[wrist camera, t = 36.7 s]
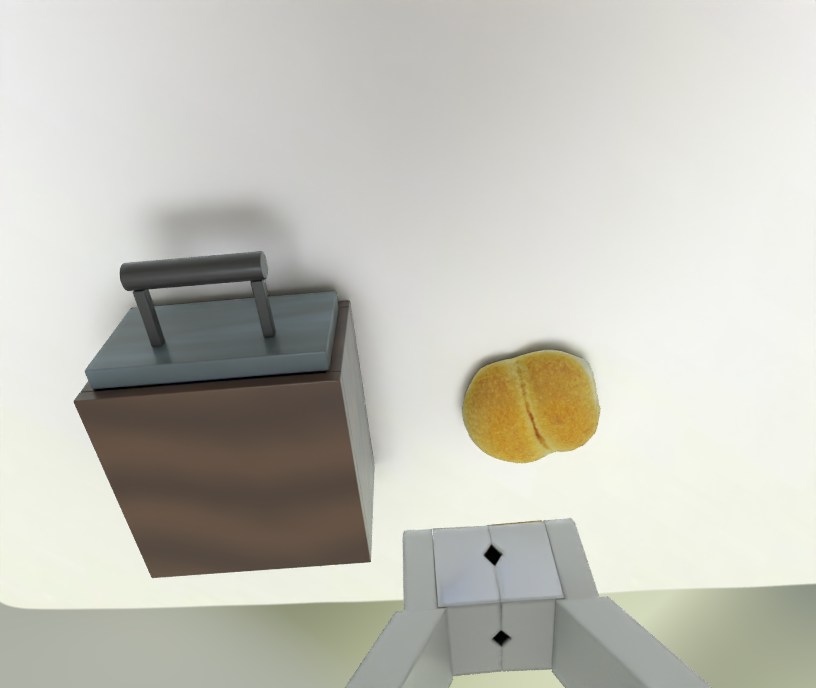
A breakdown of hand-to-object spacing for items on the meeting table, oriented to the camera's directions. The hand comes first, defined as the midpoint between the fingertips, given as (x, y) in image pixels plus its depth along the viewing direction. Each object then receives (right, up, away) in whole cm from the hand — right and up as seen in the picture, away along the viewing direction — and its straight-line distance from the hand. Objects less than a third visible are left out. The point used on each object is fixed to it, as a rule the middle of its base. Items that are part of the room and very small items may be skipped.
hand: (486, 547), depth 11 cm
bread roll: (+7, 0, +32) cm, 33 cm away
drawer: (-12, +3, +29) cm, 31 cm away
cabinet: (-11, 0, +32) cm, 33 cm away
